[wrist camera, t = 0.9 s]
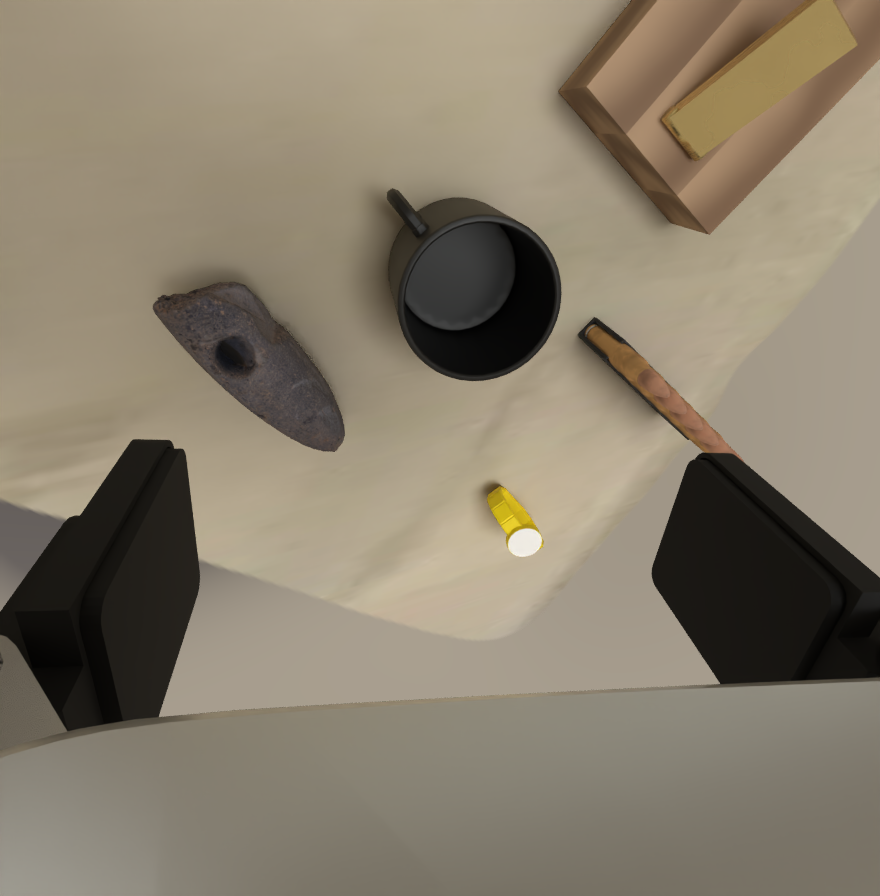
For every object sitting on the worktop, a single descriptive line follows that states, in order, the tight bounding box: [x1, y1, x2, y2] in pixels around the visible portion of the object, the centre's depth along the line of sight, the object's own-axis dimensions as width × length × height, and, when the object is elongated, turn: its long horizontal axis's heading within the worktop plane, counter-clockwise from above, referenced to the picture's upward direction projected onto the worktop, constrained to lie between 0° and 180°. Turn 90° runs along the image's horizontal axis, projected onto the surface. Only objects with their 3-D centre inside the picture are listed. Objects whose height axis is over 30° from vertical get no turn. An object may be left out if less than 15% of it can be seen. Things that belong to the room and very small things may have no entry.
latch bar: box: [661, 0, 858, 161], centre depth 31 cm, size 3×8×1 cm
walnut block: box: [558, 0, 880, 235], centre depth 34 cm, size 12×22×5 cm, turn 139°
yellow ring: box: [487, 486, 544, 557], centre depth 48 cm, size 6×3×6 cm, turn 39°
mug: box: [387, 188, 561, 381], centre depth 36 cm, size 9×12×9 cm
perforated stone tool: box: [153, 282, 345, 452], centre depth 39 cm, size 15×5×7 cm, turn 34°
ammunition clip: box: [578, 318, 744, 462], centre depth 41 cm, size 11×2×12 cm, turn 48°
